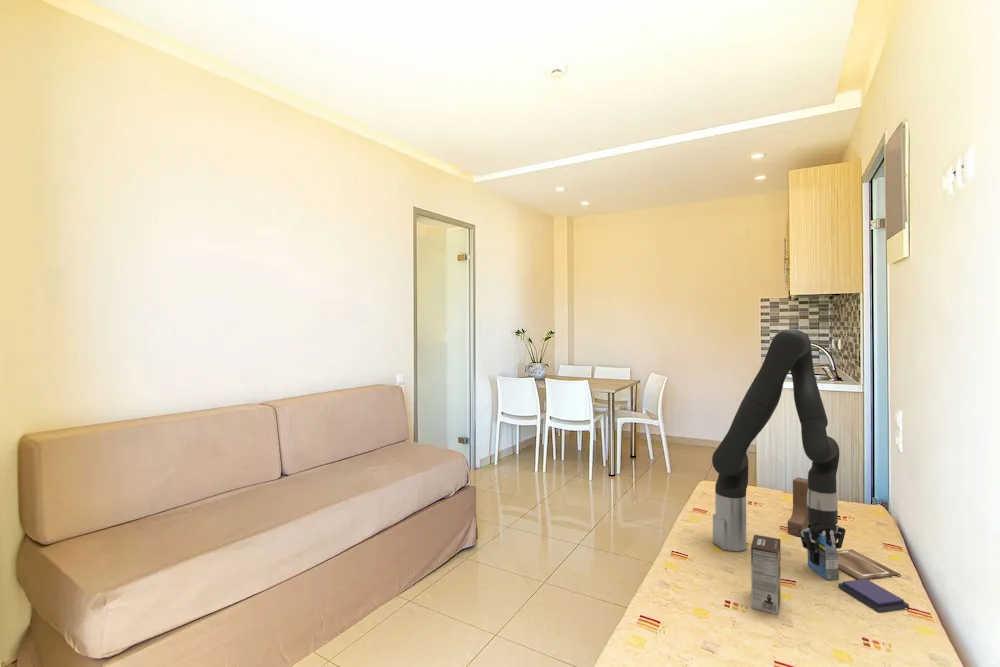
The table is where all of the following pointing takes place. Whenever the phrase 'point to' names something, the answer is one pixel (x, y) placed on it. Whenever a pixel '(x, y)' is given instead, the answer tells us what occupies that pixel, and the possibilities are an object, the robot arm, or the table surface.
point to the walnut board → (862, 566)
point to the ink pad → (873, 595)
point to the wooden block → (799, 507)
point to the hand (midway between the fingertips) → (822, 562)
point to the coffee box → (766, 574)
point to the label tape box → (826, 560)
